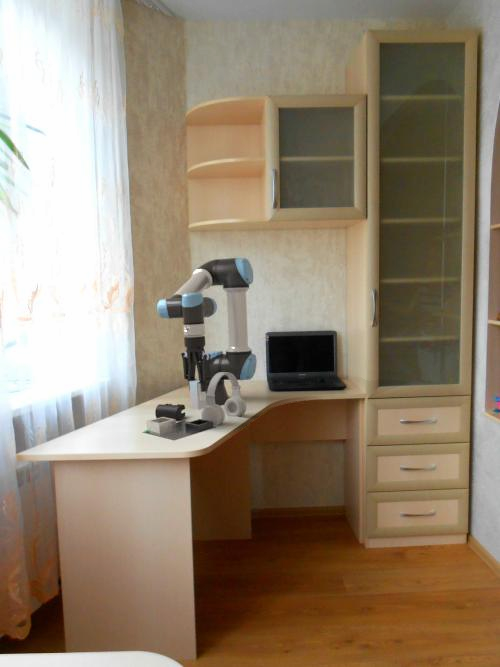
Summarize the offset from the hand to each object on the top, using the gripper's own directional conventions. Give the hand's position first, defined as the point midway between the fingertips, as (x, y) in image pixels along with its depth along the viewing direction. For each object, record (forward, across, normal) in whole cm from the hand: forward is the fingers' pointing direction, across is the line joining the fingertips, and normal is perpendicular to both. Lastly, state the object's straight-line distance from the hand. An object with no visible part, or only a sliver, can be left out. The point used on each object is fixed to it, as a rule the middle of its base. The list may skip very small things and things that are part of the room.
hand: (198, 399), depth 188 cm
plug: (+3, 0, 0) cm, 3 cm away
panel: (+11, -4, -6) cm, 14 cm away
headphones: (+12, -1, +14) cm, 18 cm away
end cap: (+12, -20, +3) cm, 23 cm away
